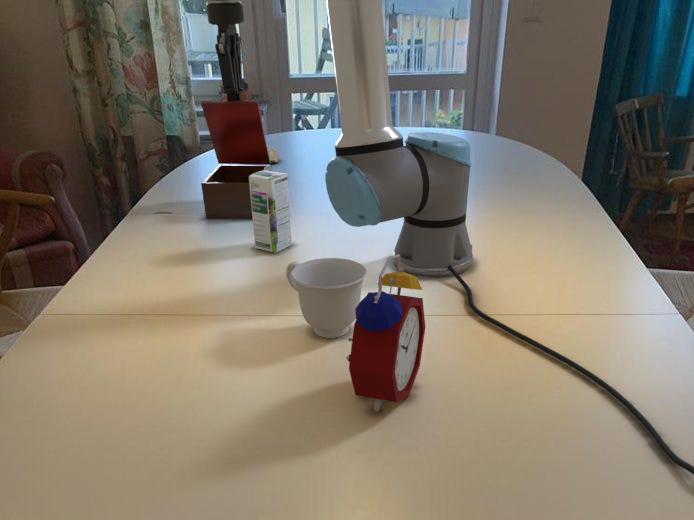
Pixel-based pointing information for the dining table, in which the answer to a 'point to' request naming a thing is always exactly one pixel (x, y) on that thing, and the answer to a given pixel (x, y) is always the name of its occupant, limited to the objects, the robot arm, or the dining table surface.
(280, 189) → the syrup box
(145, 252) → the dining table surface
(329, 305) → the teacup
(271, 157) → the stone
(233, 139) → the lid
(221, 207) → the chest
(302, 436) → the dining table surface
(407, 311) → the alarm clock
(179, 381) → the dining table surface
